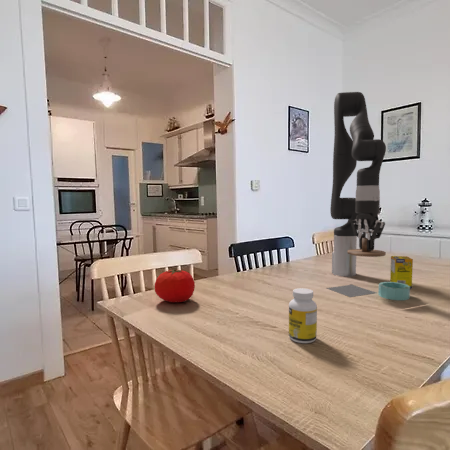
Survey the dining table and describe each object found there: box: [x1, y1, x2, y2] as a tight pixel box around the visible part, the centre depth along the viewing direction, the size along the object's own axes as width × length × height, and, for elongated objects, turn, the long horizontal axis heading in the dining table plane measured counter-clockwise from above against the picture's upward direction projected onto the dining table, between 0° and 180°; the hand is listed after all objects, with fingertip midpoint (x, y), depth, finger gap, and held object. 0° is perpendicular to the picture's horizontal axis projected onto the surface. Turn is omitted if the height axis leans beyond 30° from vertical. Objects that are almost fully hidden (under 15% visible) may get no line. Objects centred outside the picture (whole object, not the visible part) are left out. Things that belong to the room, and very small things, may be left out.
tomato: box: [154, 268, 196, 303], centre depth 108 cm, size 13×12×11 cm
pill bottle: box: [288, 287, 318, 344], centre depth 78 cm, size 6×6×12 cm
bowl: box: [377, 281, 411, 301], centre depth 110 cm, size 9×9×4 cm
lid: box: [348, 237, 386, 258], centre depth 113 cm, size 12×12×5 cm
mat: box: [325, 284, 377, 298], centre depth 117 cm, size 12×12×1 cm
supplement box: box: [389, 255, 414, 289], centre depth 123 cm, size 6×6×11 cm
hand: (366, 249), depth 113 cm, fingers closed on lid, 2 cm apart
